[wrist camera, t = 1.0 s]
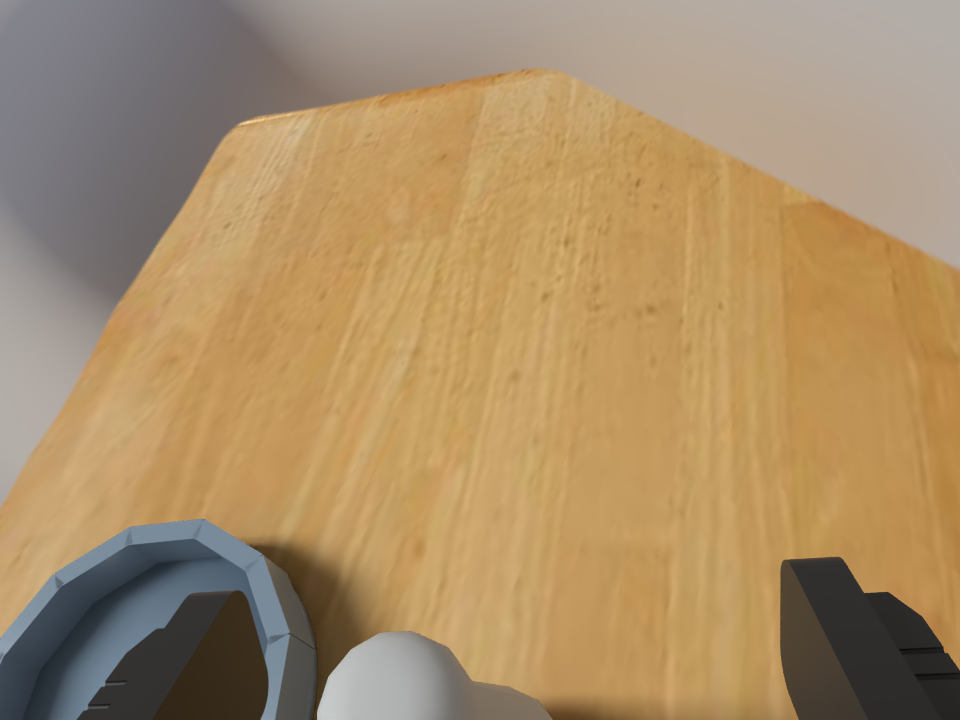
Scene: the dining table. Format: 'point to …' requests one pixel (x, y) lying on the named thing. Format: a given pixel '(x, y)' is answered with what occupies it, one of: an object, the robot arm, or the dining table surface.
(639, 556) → the dining table surface
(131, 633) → the bowl
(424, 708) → the salt shaker
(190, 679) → the robot arm
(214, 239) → the dining table surface
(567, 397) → the dining table surface
